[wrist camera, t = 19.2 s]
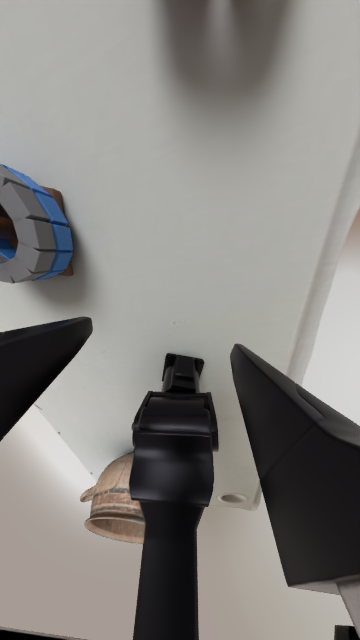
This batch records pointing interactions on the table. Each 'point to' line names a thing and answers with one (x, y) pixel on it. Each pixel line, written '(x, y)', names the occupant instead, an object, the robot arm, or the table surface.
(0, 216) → the peg stand
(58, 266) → the blue ring
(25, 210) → the grey ring
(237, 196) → the table surface
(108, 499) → the cooking pot
